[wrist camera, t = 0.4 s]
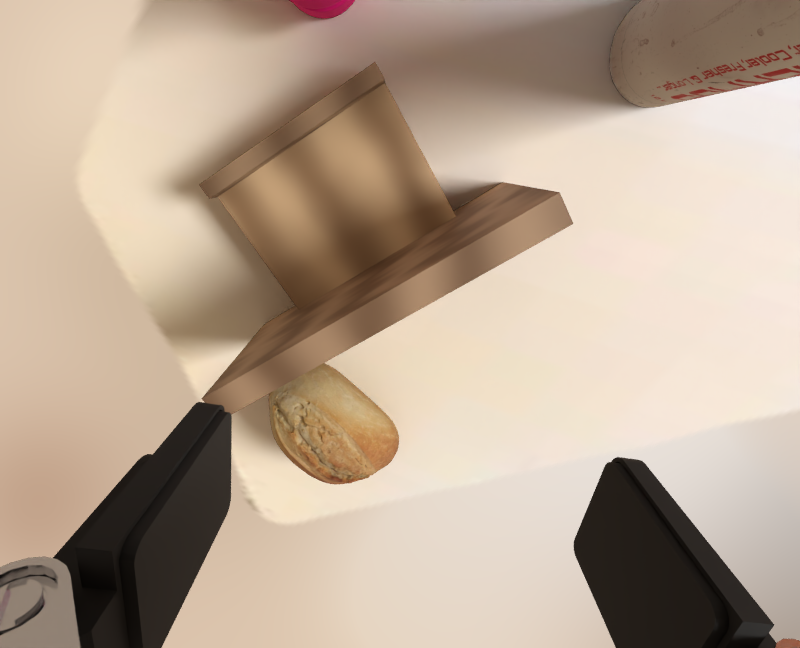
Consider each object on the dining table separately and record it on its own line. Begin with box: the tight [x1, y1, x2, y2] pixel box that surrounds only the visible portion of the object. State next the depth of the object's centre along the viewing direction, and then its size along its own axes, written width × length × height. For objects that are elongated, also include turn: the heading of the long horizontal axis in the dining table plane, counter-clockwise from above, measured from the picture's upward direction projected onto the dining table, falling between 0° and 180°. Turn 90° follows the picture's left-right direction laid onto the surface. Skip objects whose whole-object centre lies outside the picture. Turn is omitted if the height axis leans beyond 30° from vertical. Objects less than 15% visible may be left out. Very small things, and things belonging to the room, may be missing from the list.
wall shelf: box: [199, 62, 573, 414], centre depth 31 cm, size 26×14×14 cm, turn 121°
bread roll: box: [269, 363, 399, 484], centre depth 41 cm, size 10×15×8 cm, turn 48°
